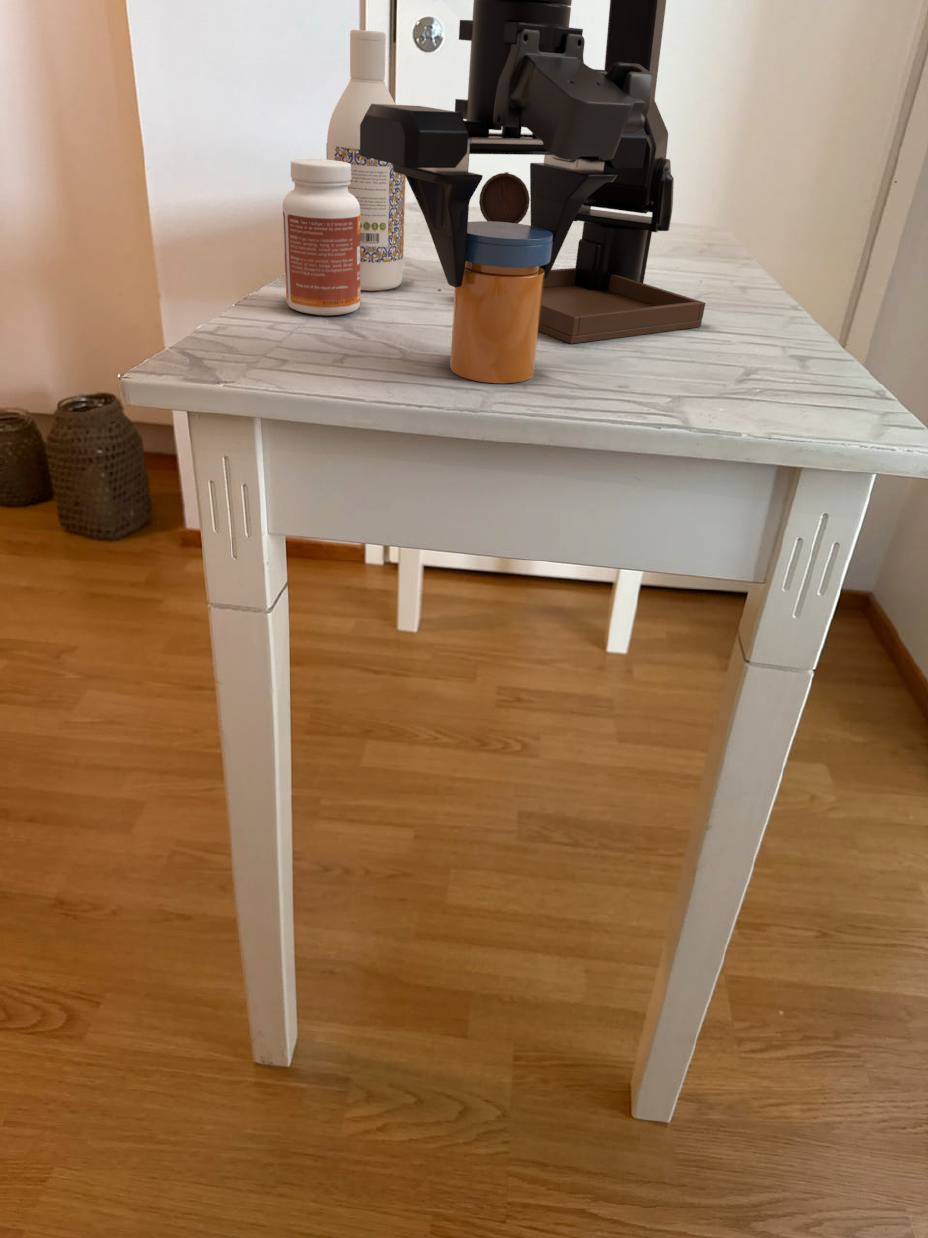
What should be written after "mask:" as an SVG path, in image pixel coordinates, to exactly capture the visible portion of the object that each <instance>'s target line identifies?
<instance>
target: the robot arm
mask: <svg viewBox="0 0 928 1238" xmlns="http://www.w3.org/2000/svg"><path fill="white" fill-rule="evenodd" d="M572 1H573V0H473V3H472V4H473V5H472V19H459V25H458V26H459V28H458V40H460V41H468V42H470V53H469V54H470V55H469V70H468V86H467V87H468V88H467V89H468V90H467V99H465V98H464V99H462V98H455V101H454V110H447V109H442V108H435V107H429V106H424V105H406V104H395V105H388V104H371V105H370V107H369V109H368V111H367V112H366V114H365V116H364V118H363V120H362V122H361V124H360V156H364V157H368V158H372V159H376V160H380V161H384V162H388V163H392V164H393V172H395V173H399V174H403V175H405V176H406V182H407V183H408V185H409V187H410V189H411V191H412V194H413V196H414V198H415V200H416V202H417V204H418V207H419V210H420V211H421V214H422V215H423V218H424V220H425V223H426V226H427V228H428V231H429V233H430V237H431V239H432V243H433V245H434V248H435V251H436V253H437V257H438V259H439V261H440V265H441V267H442V271H443V273H444V277H445V280H446V282H447V284H448V285H449V286H451V287H453V288H455V287H461V285H462V281H463V275H464V269H465V261H466V245H467V229H468V222H469V211H470V201H471V200H472V197H473V196H474V194H475V192H476V190H477V189H478V187H479V185H480V184H481V182H482V180H483V174H479V173H476V172H471V171H469V167H470V166H469V165H470V155H519V156H520V155H522V156H524V155H525V156H526V155H527V156H529V155H530V156H532V155H534V156H536V155H537V156H543V157H544V158H543V162H530V163H529V192H530V193H529V199H530V201H529V207H530V226H535V227H539V228H543V229H546V230H548V231H550V232H552V233H553V240H552V241H553V247H552V255H551V259H550V262H549V263H548V264H546V265H542V266H539V267H541V268H542V269H544V271H545V275H544V280H546V279H547V278H548V276H549V273H550V271H551V270H553V266H554V264H555V262H556V260H557V258H558V256H559V253H560V251H561V249H562V247H563V245H564V243H565V240H566V238H567V237H568V233H569V231H570V229H571V227H572V225H573V223H574V222H583V224H582V225H583V227H582V232H581V233H582V234H581V238H580V239H579V240H578V244H577V251H576V260H575V267H574V268H575V269H576V278H575V284H576V285H577V286H580V287H583V288H586V289H589V290H595V291H597V292H600V293H602V292H603V291H605V292H603V293H605V294H606V293H608V292H606V291H609V284H610V277H611V275H618V276H621V277H625V278H628V279H631V280H634V281H637V282H641V283H644V281H645V275H646V269H647V265H648V264H647V263H648V258H649V252H650V247H651V240H652V234H653V233H658V232H669V231H670V227H671V221H672V215H673V205H674V204H673V203H674V185H675V184H674V183H675V182H674V181H675V178H674V177H673V175H672V169H671V168H672V165H671V159H670V158H667V151H668V142H669V131H668V129H667V127H666V124H665V121H664V118H663V117H662V115H661V112H660V109H659V107H658V104H657V103H656V91H657V83H658V82H657V81H658V75H659V74H658V73H659V65H660V57H661V50H662V49H661V47H662V41H663V31H664V23H665V15H666V8H667V7H666V5H667V0H609V9H608V10H609V11H608V21H607V23H608V24H607V34H606V35H607V36H606V47H605V57H604V58H605V59H604V69H598V68H597V69H595V68H592V67H590V66H589V65H588V64H586V63H585V61H584V52H585V38H584V36H583V33H584V29H583V28H577V27H576V28H575V27H570V21H571V13H572V12H571V11H572V7H571V6H572V3H573V2H572ZM522 128H526V129H528V131H529V132H531V133H525V132H524V133H522ZM490 130H492V131H501V132H490ZM594 208H599V209H594ZM601 209H606V210H601ZM609 210H610V211H609ZM611 210H615V211H611ZM617 211H623V212H630V213H623V212H617ZM632 213H639V214H632ZM647 213H651V216H648V215H647V216H646V214H647ZM641 214H645V215H641ZM601 291H602V292H601ZM609 293H610V292H609ZM611 293H613V292H611ZM608 295H609V294H608ZM611 295H612V294H611Z"/></svg>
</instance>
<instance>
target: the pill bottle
mask: <svg viewBox="0 0 928 1238" xmlns="http://www.w3.org/2000/svg"><path fill="white" fill-rule="evenodd" d="M290 177H291V182H292V183H294V188H293V189H292V190H290V191H289V192H288V193H286V195H285V196H284V198H283V201H282V224H283V249H284V275H285V296H286V303H287V305H288V307H289V308H290V309H292V310H295V311H296V312H300V313H305V314H309V315H315V316H340V315H345V314H351V313H353V312H355V311H357V310H358V309H359V308H360V305H361V290H360V205H359V202H358V200H357V199H356V198H355V197H354V196H353V195H352V194H350V193H349V192H348V185H349V184H350V183H351V182H350V181H351V164H350V163H347V162H342V161H334V160H327V159H323V158H321V159H319V158H296V159H291V160H290Z"/></svg>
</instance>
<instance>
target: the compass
mask: <svg viewBox="0 0 928 1238" xmlns="http://www.w3.org/2000/svg"><path fill="white" fill-rule="evenodd" d="M529 192H530V191H529V189H528V188H527V185H526V183H525V182H524V181H523V180H522V179H521V178H520V177H518V175H515V174H512V173H509V171H505V172H501V173H497V174H494V175H492V176H491V177H490V178H488V179H487V180H486V181H485V183H484V184H483V186H482V187H481V190H480V193H479V199H478V200H479V201H478V204H479V209H480V212H481V215H482V216H483V218H484V219H485V221H492V222H508V223H517V224H520V222H522V221H523V219H524V218H525V217H526V216H527V213H528V210H529V207H530V193H529Z"/></svg>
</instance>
